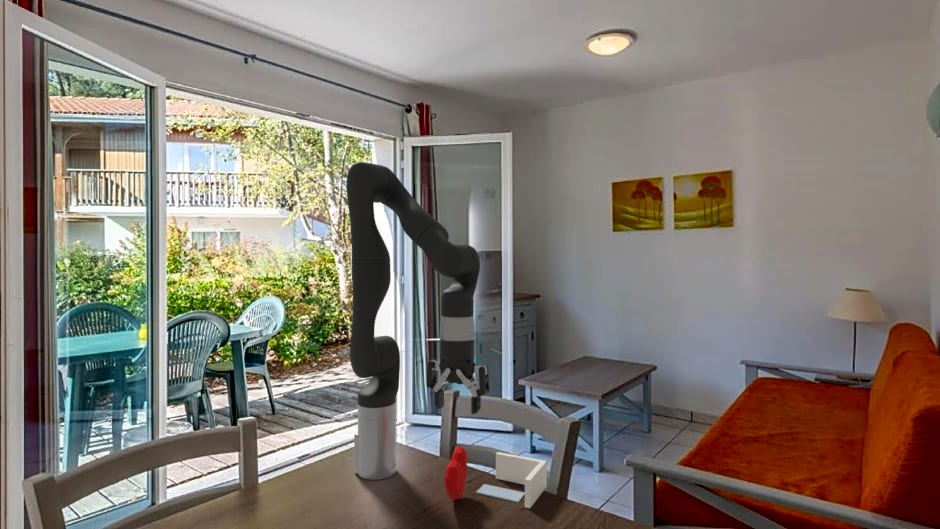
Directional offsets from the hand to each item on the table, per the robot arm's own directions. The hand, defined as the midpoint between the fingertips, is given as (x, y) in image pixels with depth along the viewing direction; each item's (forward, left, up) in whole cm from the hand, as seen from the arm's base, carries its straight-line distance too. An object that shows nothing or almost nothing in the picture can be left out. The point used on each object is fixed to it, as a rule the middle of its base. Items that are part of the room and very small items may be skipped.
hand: (457, 410), depth 114 cm
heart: (0, 0, -20) cm, 20 cm away
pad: (+7, +7, -20) cm, 22 cm away
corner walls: (+9, +9, -20) cm, 23 cm away
